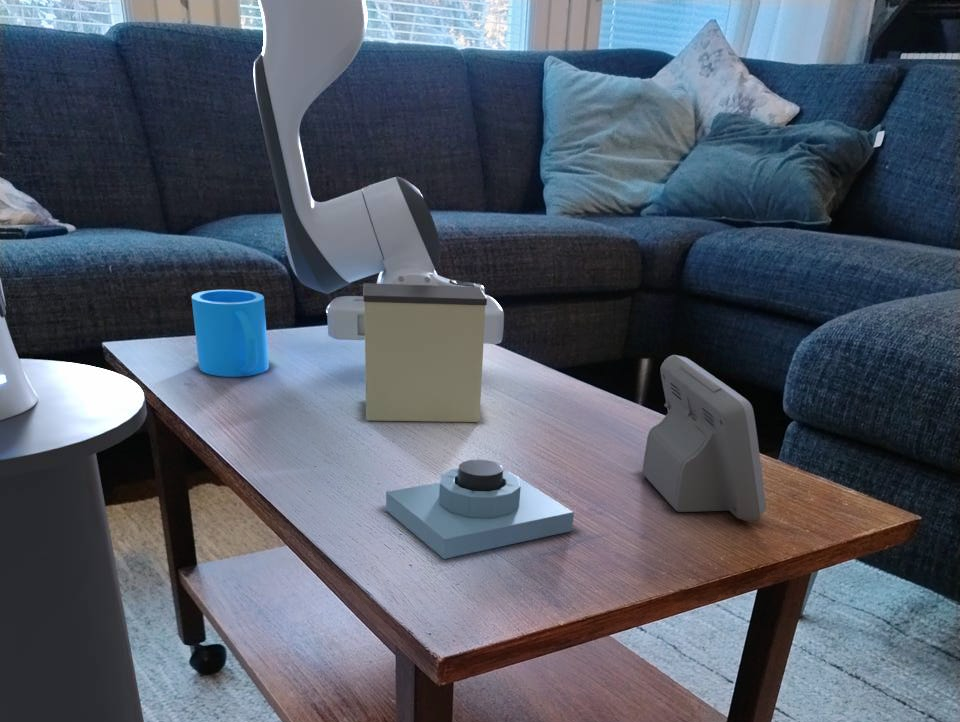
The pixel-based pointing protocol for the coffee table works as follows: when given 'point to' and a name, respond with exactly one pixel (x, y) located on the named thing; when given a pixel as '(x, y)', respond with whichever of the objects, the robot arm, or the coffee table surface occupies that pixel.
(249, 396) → the coffee table surface
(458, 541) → the box
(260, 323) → the mug
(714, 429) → the digital clock
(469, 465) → the timer button
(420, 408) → the box
